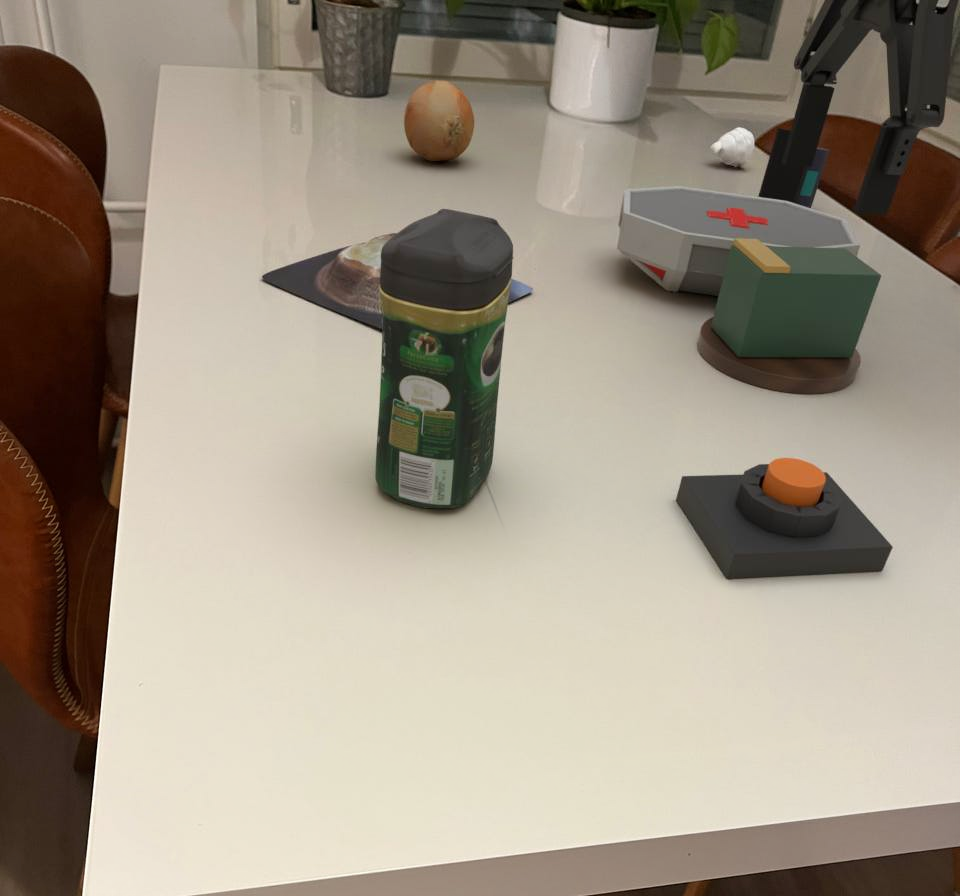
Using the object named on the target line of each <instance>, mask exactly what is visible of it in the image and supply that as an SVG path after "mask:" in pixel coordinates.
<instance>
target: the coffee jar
mask: <svg viewBox="0 0 960 896" xmlns="http://www.w3.org/2000/svg"><path fill="white" fill-rule="evenodd" d="M396 233H397V234H396V235H394V236H393V237H392V238H391V239H390V240H389V241H388V242H386V243H385V244H384V246H383V247H382V250H381V269H380V285H379V294H380V302H381V311H382V329H381V356H380V357H381V359H380V360H381V362H380V364H381V365H380V383H379V384H380V385H379V404H378V405H379V406H378V420H377V421H378V422H377V433H376V448H375V449H376V451H375V452H376V453H375V471H374V472H375V474H374V475H375V476H374V478H375V482H376V484H377V486H378V487H379V489H380V490H382V492H384V493H385V494H387V495H389V496H391V497H392V498H394V499H395V500H397V501H399V502H402V503H404V504H408V505H410V506H413V507H419V508H424V509H451V508H454V509H455V508H459V507H461V506H463V505H465V504H466V503H467V502H468V501H470V500H471V499H472V498H473V497H474V495H475V494H476V493H477V492H478V491H479V489H480V488H481V487H482V485H483V484H484V482H485V481H486V479H487V478H488V475H489V473H490V471H491V468H492V466H493V460H494V452H495V451H494V450H495V449H494V448H495V440H496V439H495V438H496V424H497V411H498V401H499V400H498V399H499V389H500V386H499V385H500V378H501V369H502V368H501V367H502V357H503V356H502V355H503V347H504V337H505V329H506V320H507V312H508V306H509V303H508V299H509V293H510V285H511V279H512V277H513V259H514V245H513V241H512V239H511V237H510V235H509V234H508V233H507V232H506V230H505V229H504V228H503V227H502V226H501V224H500V223H499V222H498V220H497V219H495V218H494V217H489V216H484V215H480V214H474V213H471V212H470V213H469V212H465V211H459V210H454V209H449V208H441V209H439V210H438V211H437V212H436V213H433V214H430V215H427V216H425V217H422V218H420V219H418V220H416V221H413V222H412V223H410V224H408V225H406V226H405V227H404V228H403V229H401V230H399V231H398V232H396Z"/></svg>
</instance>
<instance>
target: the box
mask: <svg viewBox="0 0 960 896" xmlns="http://www.w3.org/2000/svg"><path fill="white" fill-rule="evenodd" d="M881 278H882V274H881V273H879V272H878V271H876V270H875V269H874V268H872V267H871V266H870V265H869V264H867V263H866V262H864V261H863V260H862V259H860V258H859V257H858V256H857V257H856V256H855V255H854V254H852V253H851V252H849V251H848V250H847V249H845V248H815V247H779V246H765V245H764V244H763V243H762V242H761V241H759V240H758V239H743V238H735V239H734V243H733V245H732V246H731V249H730V253H729V257H728V261H727V265H726V269H725V273H724V277H723V281H722V285H721V289H720V292H719V296H717V300H716V304H715V309H714V312H713V316H712V317H713V320H712V324H711V328H712V329H713V330H714V331H715V332H716V333H717V334H718V335H719V337H720V338H721V339H722V340H723V341H724V342H725V343H726V344H727V345H728V346H729V348H730V349H731V350H732V351H733V352H734V353H735V354H736V355H737V356H738V357H798V358H852V357H853V354H854V351H855V348H856V349H857V345H858V342H859V339H860V337H861V334H862V332H863V328H864V325H865V323H866V321H867V318H868V314H869V312H870V309H871V306H872V304H873V301H874V298H875V294H876V292H877V289H878V287H879V283H880V280H881Z"/></svg>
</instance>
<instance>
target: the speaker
mask: <svg viewBox="0 0 960 896" xmlns="http://www.w3.org/2000/svg"><path fill="white" fill-rule="evenodd" d="M790 131H791V129H787V128H782V127H781V128H780V127H777V130H776V133H775V137H774V140H773V144H772V147H771V151H770V154H769V157H768V161H767V165H766V168H765V172H764V174H763V179H762V182H761V186H760V188H759V192H758V195H757V197H762V198H769V199H777V200H784V201H789V202H792V203H795V204H798V205H801V206H804V207H808V208H811V209H812V206H813V203H814V200H815V198H816V194H817V192H818V189H819V185H820V181H821V179H822V175H823V173H824V169H825V166H826V163H827V161H828V157H829V153H830V149H827V148H824V147H819V146H817V150H816V153H815V157H814V160H813V163H812V167H805V166H786V165H784V164H782V160H783V156H784V153H785V149H786V146H787V142H788V138H789V135H790Z"/></svg>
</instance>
